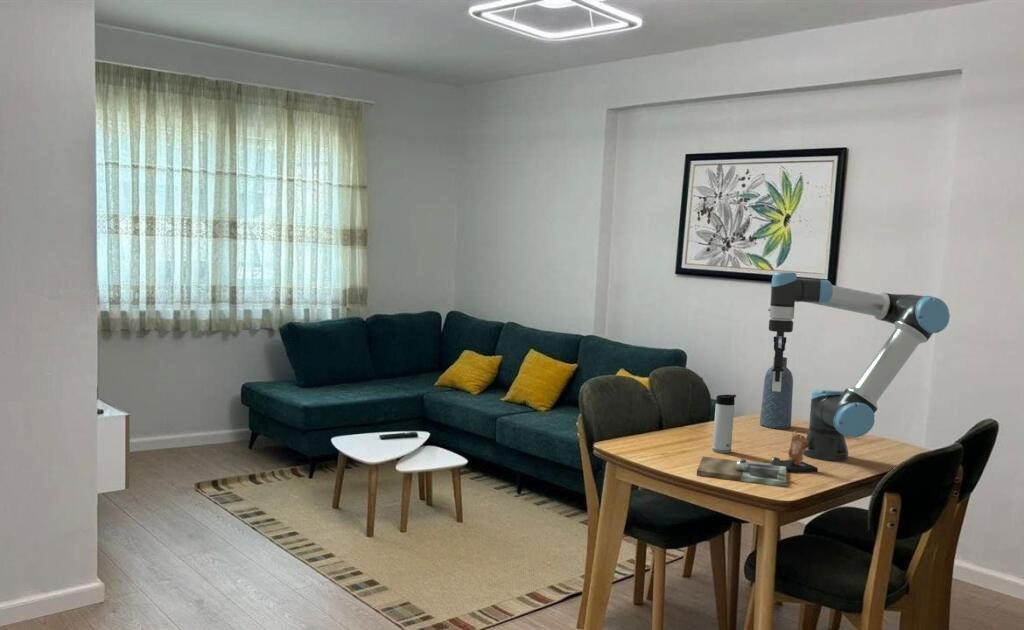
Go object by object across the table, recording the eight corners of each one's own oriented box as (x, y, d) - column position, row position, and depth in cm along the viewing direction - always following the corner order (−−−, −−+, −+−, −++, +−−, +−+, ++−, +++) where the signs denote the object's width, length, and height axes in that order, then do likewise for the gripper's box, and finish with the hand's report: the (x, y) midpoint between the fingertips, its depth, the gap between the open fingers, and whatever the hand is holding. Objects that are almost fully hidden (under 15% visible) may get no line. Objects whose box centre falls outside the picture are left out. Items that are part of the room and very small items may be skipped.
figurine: (817, 472, 270) (820, 435, 270) (790, 473, 268) (793, 435, 267) (798, 464, 280) (801, 428, 279) (771, 465, 277) (774, 428, 276)
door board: (785, 471, 269) (786, 458, 269) (785, 486, 250) (786, 473, 250) (702, 460, 277) (703, 448, 277) (696, 475, 258) (697, 462, 258)
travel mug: (732, 454, 289) (736, 396, 287) (712, 452, 290) (716, 394, 289) (731, 450, 295) (735, 393, 294) (712, 448, 296) (716, 392, 295)
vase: (761, 427, 339) (767, 358, 336) (757, 422, 351) (763, 354, 348) (793, 430, 337) (798, 360, 335) (788, 424, 349) (793, 356, 346)
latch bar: (737, 470, 259) (738, 456, 259) (735, 467, 263) (736, 453, 262) (779, 474, 258) (780, 460, 257) (777, 471, 261) (778, 457, 261)
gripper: (769, 317, 283) (764, 387, 284) (769, 319, 270) (764, 392, 272) (792, 318, 280) (787, 389, 282) (793, 321, 268) (788, 395, 270)
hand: (776, 390), depth 277 cm, fingers closed
